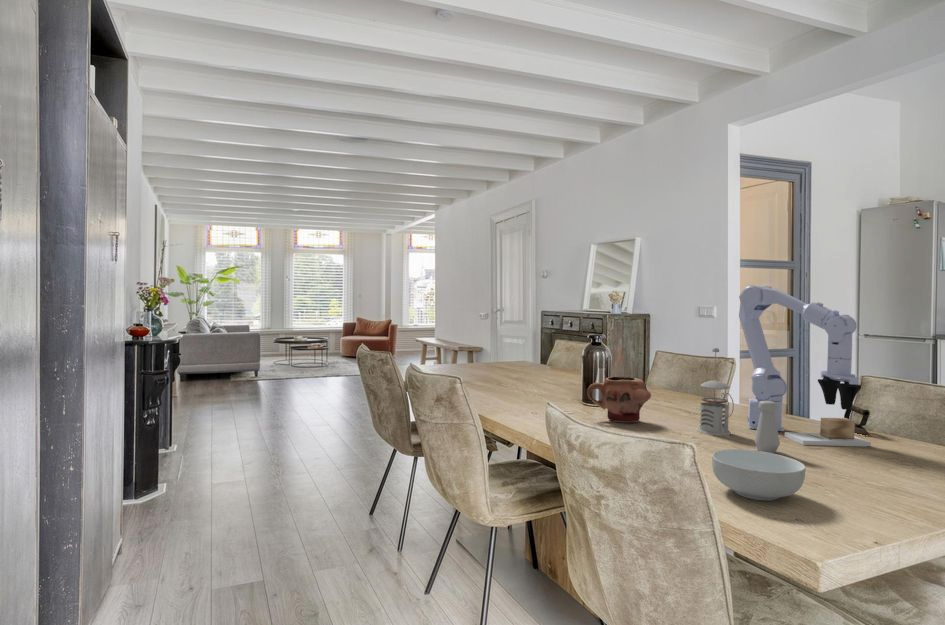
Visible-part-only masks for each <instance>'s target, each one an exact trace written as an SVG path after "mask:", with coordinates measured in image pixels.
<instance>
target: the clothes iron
mask: <svg viewBox="0 0 945 625" xmlns="http://www.w3.org/2000/svg"><path fill="white" fill-rule="evenodd" d="M852 412H855V413H857V414H860V415H862V416H861V420H860V423H856V422H855V430H854V433H857V434H862V435H868V436H869V432H868V431H867V429H866V428H865V427H864V426H866V425H867V423H868V420H869V417H870V415H871V411H870V410H868V409H863V408H862V407H859V406H857V405H854V403H853V404H852V407H851V410H845V412H844V415H843V418H847V419H850V417H851V414H852ZM850 420H851V419H850Z"/></svg>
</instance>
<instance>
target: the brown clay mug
mask: <svg viewBox="0 0 945 625" xmlns="http://www.w3.org/2000/svg"><path fill="white" fill-rule="evenodd" d="M647 388H648V387H647V385H646V383H645V382H644V380H642V379H639V378H635V377H629V376H628V377H627V376H625V377H624V376H623V377H621V376H610V377H606V378H605V380H604V382H593V383H591V384H590V385H589V386H588V387H587V390H586V394H587V397H588V399H589V400H591V401H592V402H593V403H594V405H596V406H598V407H600V408H601V409H602V410H606V409H607V419H608V420H609V421H612V422H614V423H615V422H617V423H637V422H639V421H640V413H641V412H640V411H641V408H642V407H643V405H644V404H646V403H647V402H648V401H649V400H650V399H651V397H652V393H651V391H649V389H647ZM594 390H599V391H600V392H601V399H600V400H595V399H594V397H593V396H592V392H593V391H594Z"/></svg>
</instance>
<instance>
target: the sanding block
mask: <svg viewBox="0 0 945 625" xmlns="http://www.w3.org/2000/svg"><path fill="white" fill-rule="evenodd" d="M855 423H856V422H855V420H854V419H853V420H852V419H847V418H844V417H820V426H819V427H820V430H819V431H820V432H819V433H820V435H821V436H823V437H826V438H828V439H854V436H855V434H854V430H855Z"/></svg>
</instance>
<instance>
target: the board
mask: <svg viewBox="0 0 945 625" xmlns="http://www.w3.org/2000/svg"><path fill="white" fill-rule="evenodd" d="M784 437H785V438H787V439H789V440H791V441H794V442H796V443H798V444H800V445H803V446H828V447H831V446H832V447H833V446H835V447H867V446H871V444H872V443H871V441H869V440H866V439H863V438H860V437H858V436H855V435H854V439H828V438H826V437H823V436H821V435H820V432H791V431H790V432H789V431H788V432H787V431H786V432H785V431H784Z"/></svg>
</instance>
